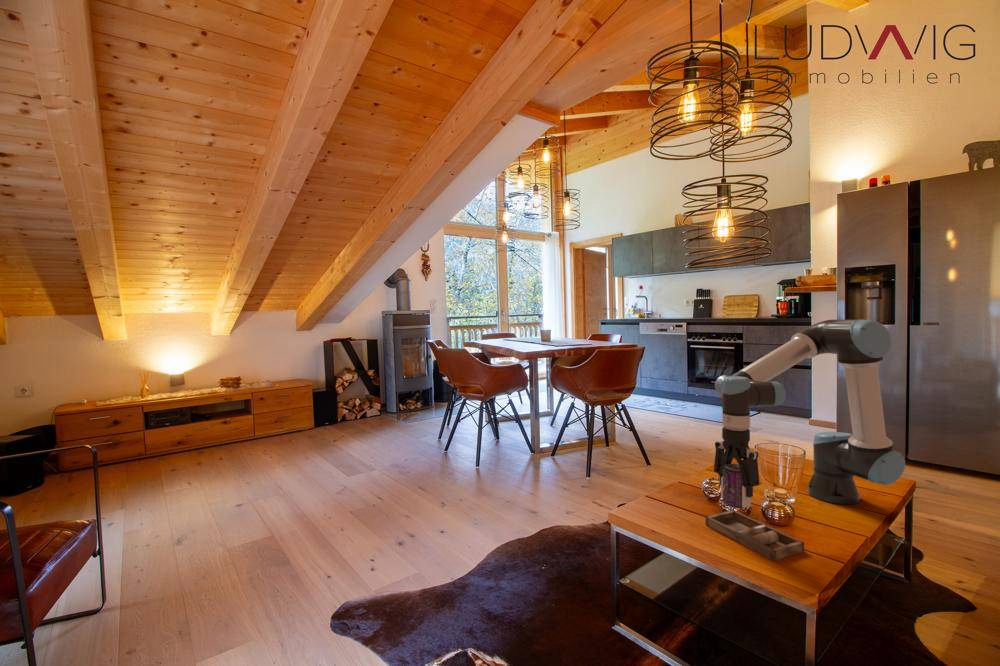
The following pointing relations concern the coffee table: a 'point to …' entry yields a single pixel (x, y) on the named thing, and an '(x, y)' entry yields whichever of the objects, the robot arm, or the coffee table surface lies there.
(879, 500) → the coffee table surface
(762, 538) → the grey oblong lump
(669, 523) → the coffee table surface
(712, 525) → the tray
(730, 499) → the beverage can
